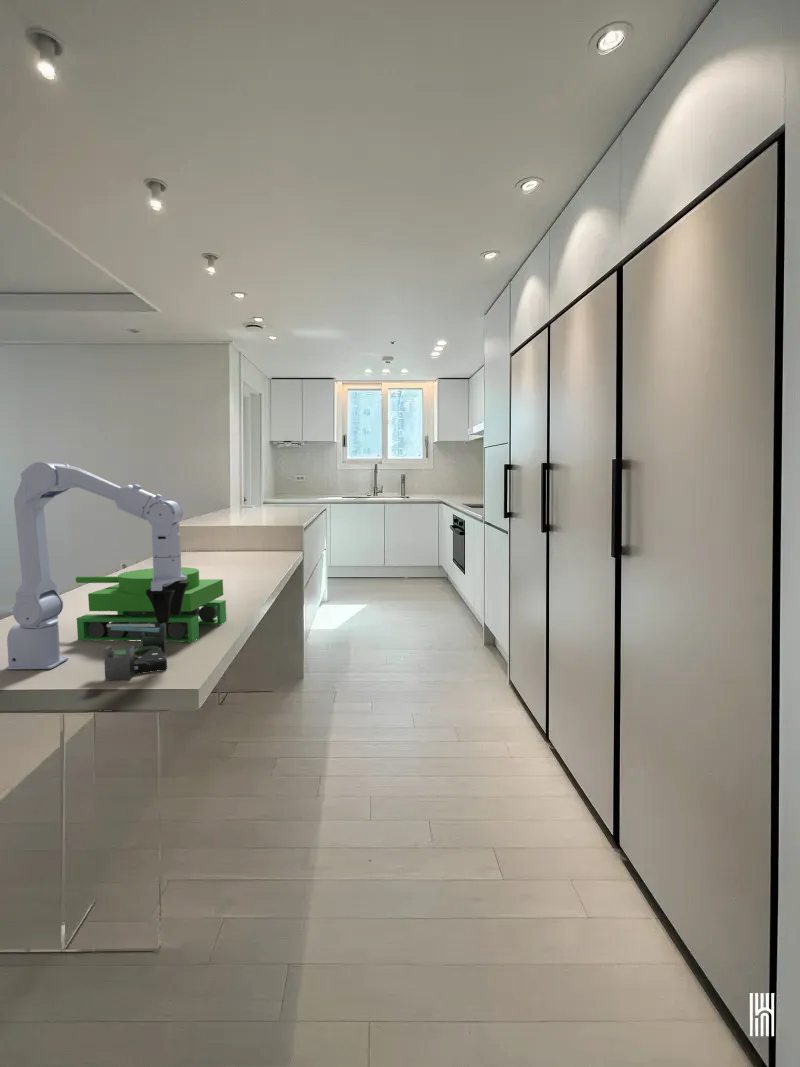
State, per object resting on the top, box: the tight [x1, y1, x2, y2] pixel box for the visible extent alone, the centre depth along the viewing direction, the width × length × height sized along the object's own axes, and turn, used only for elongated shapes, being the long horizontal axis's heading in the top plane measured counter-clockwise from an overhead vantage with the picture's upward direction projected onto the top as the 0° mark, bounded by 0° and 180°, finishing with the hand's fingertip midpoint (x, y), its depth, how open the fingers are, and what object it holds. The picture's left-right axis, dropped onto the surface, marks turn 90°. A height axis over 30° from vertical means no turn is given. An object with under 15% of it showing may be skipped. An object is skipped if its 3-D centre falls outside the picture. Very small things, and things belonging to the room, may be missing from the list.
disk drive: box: [113, 644, 168, 675], centre depth 145 cm, size 10×3×15 cm
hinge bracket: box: [141, 623, 168, 653], centre depth 154 cm, size 5×2×7 cm, turn 91°
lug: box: [103, 645, 136, 681], centre depth 135 cm, size 5×2×6 cm, turn 91°
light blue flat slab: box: [107, 623, 161, 633], centre depth 145 cm, size 9×21×2 cm, turn 1°
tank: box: [75, 566, 227, 643], centre depth 176 cm, size 24×35×16 cm
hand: (169, 618), depth 144 cm, fingers open, 7 cm apart
